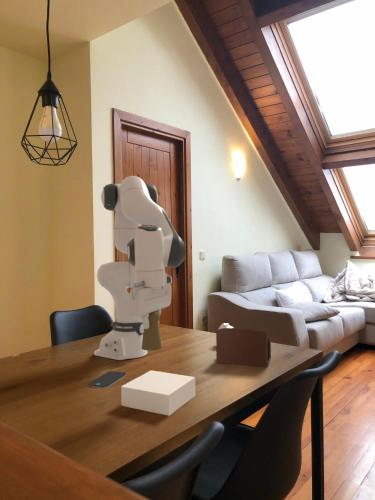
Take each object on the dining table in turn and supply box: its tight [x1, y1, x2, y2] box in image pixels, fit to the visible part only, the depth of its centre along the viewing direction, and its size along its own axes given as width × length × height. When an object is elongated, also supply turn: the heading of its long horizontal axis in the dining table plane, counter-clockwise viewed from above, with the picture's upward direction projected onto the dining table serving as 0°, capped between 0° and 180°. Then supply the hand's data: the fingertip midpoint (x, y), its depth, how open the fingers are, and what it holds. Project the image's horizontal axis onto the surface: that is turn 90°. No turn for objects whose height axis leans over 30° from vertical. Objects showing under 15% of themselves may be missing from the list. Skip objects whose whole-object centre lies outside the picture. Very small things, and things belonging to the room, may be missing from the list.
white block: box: [120, 370, 196, 417], centre depth 123 cm, size 16×16×6 cm
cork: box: [142, 311, 163, 352], centre depth 122 cm, size 6×6×11 cm
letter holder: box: [215, 327, 272, 368], centre depth 160 cm, size 10×20×14 cm, turn 72°
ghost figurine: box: [217, 322, 235, 330], centre depth 184 cm, size 9×10×10 cm
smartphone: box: [87, 370, 127, 389], centre depth 142 cm, size 8×1×15 cm
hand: (151, 326), depth 122 cm, fingers closed on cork, 4 cm apart
